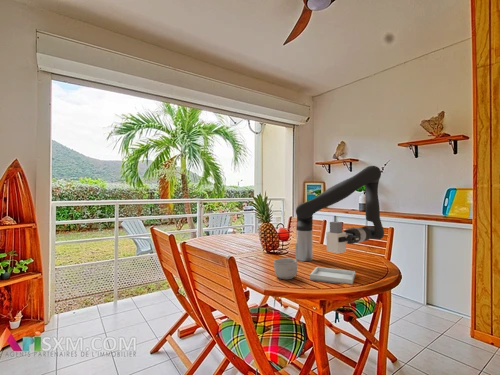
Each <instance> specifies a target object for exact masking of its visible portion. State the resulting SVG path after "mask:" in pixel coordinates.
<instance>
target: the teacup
mask: <svg viewBox="0 0 500 375" xmlns="http://www.w3.org/2000/svg"><path fill="white" fill-rule="evenodd" d="M273 269H274V274H275V275H276V277H278V279H281V280H291V279H294V277H295V276H296V275H297V273H298V260H297V259H296V258H291V257H285V258H283V257H282V258H277V259H274V260H273Z"/></svg>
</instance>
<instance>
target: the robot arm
mask: <svg viewBox="0 0 500 375" xmlns="http://www.w3.org/2000/svg"><path fill="white" fill-rule="evenodd" d="M381 176H382V171H381V168H379V167H378V166H377V165H367V167H365V168H363V169H362V170H360V171H359V172H358V173H356V174H354V175H353V176H351V177H349V178H346V179H345V180H342V181H340V182H338V183H336V184H334V185H332V186H330V187H329V188H327V189H326V190H324V191H323V192H322V193H320V194H318V195H317V196H315V197H313V198H312V199H310V200H306V201H305V202H301V203H299V204H298V205H297V206H296V208H295V214H296V225H295V226H296V242H295V247H294V248H295V260H297V261H301V262H310V261H311V262H312V261H313V217H314V214H315V213H317V212H319V211H321V210H322V209H324V208H327V207H330V206H333V205H334V204H337V203H339V202H341V201H343V200H345V199H346V198H348V197H349V196H350V195H352V194H353V193H354V192H356V191H357V190H358V189H360V188H362V187H364V189H365V208H364V209H365V220H366V222H367V221H368V222H371V223H372V224H373V225H365V226H361V227H350V228H346V229H344V230H343V232H346V236H345V237H339V238H338V242H346V244H349V245H354V244H358V243H362V242H366V241H368V240H382V239H383V237H384V235H385V230H384V227H383V224H382V220H381V213H380V212H381V211H380V200H379V192H378V190H379V183H380V179H381ZM325 236H326V239H327V235H325Z"/></svg>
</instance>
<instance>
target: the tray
mask: <svg viewBox="0 0 500 375" xmlns="http://www.w3.org/2000/svg"><path fill="white" fill-rule="evenodd" d="M355 278H356V271H355V270H348V269H340V268H330V267H321V266H316V267H315V268H314V269H313V270H312V271H311V273H310V274H309V279H310V281H315V282H323V283H328V284H329V283H331V284H336V285H344V286H345V284H347V285H353V283H354V280H355Z"/></svg>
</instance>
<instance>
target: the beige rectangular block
mask: <svg viewBox="0 0 500 375" xmlns="http://www.w3.org/2000/svg"><path fill="white" fill-rule="evenodd" d="M326 236H327V238H326V252H329V253H334V254H342V253H346V252H347V243H346V242H338V238H339V237H345V236H346V232H344V231H342V233H330V231H326Z"/></svg>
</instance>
